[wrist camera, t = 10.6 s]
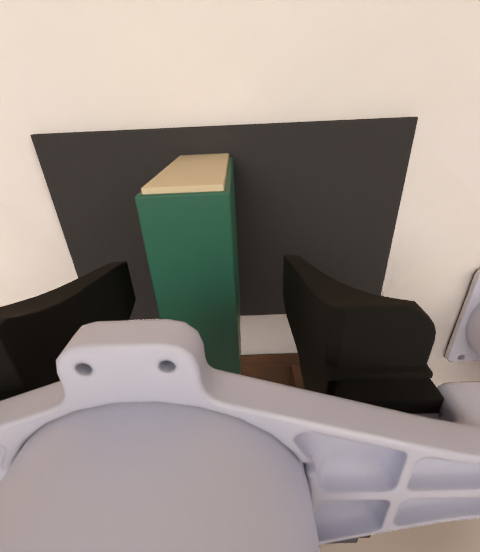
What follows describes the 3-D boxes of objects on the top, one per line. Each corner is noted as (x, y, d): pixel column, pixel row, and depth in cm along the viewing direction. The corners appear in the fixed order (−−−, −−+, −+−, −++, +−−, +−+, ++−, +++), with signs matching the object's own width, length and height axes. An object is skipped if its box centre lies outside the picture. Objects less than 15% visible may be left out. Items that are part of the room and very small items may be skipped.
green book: (232, 152, 16) (229, 185, 9) (240, 297, 21) (241, 394, 14) (177, 154, 16) (132, 189, 9) (195, 299, 21) (174, 396, 14)
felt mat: (414, 116, 16) (418, 116, 16) (375, 307, 22) (377, 310, 21) (34, 134, 16) (30, 134, 16) (94, 318, 22) (92, 321, 22)
